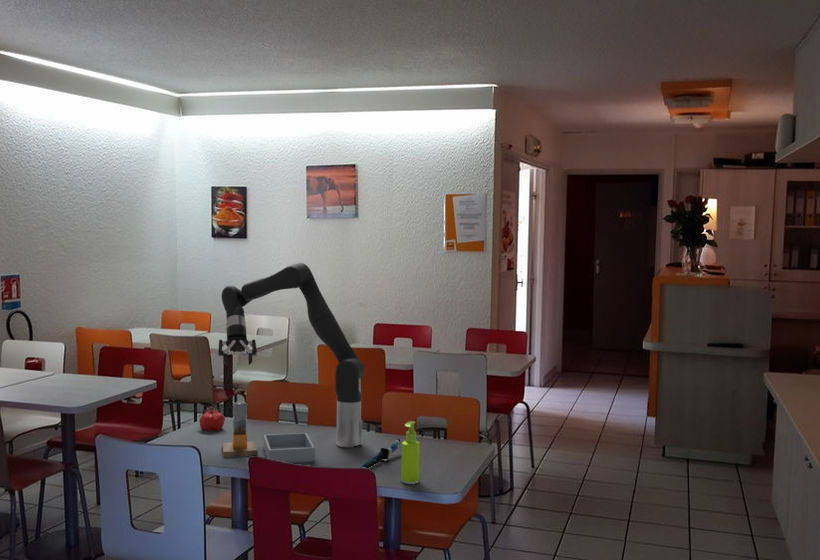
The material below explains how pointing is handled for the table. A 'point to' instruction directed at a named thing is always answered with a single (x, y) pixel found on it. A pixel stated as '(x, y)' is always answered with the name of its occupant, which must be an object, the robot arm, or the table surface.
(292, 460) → the bin
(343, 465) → the table surface
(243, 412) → the strut
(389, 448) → the knife
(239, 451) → the stud block
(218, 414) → the red tomato
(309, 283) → the robot arm
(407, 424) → the soap dispenser
